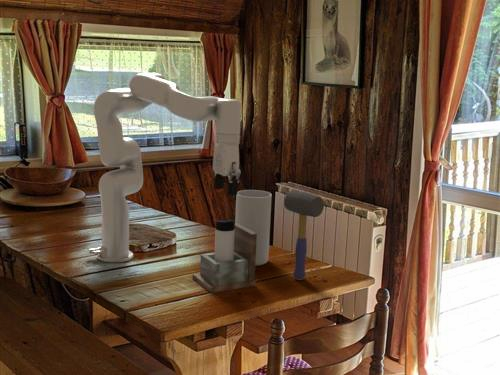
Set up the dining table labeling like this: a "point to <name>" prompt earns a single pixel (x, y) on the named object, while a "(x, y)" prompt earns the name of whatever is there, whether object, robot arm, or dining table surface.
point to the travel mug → (224, 240)
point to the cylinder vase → (255, 219)
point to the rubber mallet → (302, 223)
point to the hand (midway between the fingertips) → (225, 191)
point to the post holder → (230, 265)
